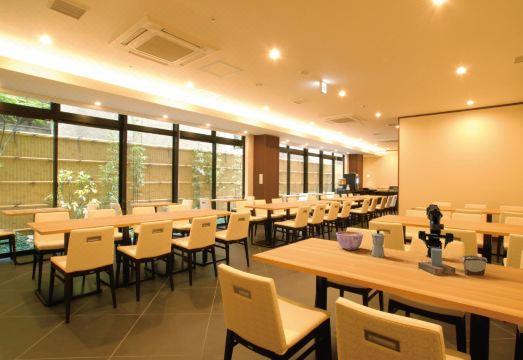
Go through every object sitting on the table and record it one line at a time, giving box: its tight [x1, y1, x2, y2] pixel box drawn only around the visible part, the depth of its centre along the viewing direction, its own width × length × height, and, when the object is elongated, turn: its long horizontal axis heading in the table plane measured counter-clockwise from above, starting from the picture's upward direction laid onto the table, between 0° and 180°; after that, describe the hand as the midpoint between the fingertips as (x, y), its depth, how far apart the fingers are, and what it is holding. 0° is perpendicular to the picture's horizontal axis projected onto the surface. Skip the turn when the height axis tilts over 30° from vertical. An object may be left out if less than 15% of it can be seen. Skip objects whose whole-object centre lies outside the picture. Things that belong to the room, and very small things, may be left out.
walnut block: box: [417, 261, 456, 276], centre depth 168 cm, size 13×13×4 cm
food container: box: [461, 254, 488, 277], centre depth 163 cm, size 12×6×10 cm, turn 84°
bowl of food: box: [335, 230, 364, 251], centre depth 220 cm, size 20×20×12 cm
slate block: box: [430, 248, 443, 267], centre depth 168 cm, size 5×5×9 cm
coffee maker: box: [371, 229, 386, 258], centre depth 201 cm, size 15×9×18 cm, turn 137°
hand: (435, 247), depth 174 cm, fingers open, 9 cm apart
